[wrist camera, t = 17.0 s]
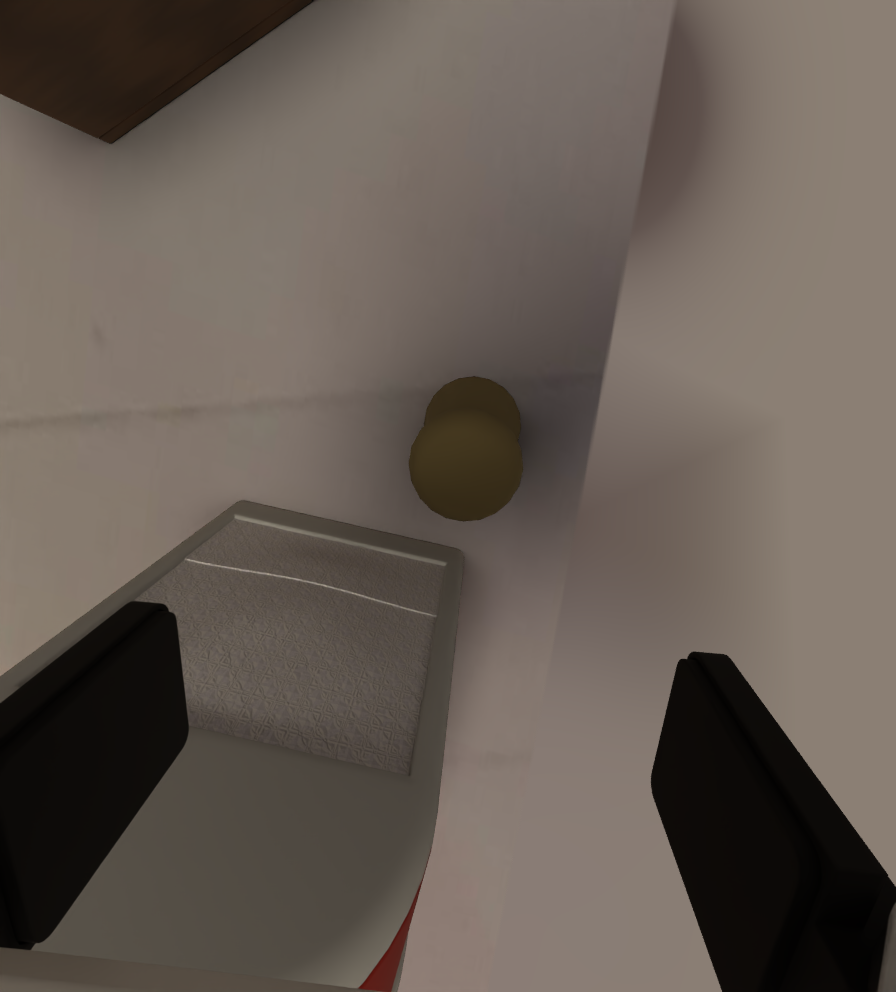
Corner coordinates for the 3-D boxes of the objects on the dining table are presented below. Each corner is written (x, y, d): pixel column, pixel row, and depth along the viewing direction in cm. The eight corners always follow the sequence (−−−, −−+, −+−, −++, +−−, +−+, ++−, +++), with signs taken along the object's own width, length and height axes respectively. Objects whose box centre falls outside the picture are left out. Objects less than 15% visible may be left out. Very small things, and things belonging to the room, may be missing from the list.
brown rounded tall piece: (507, 364, 32) (515, 387, 21) (531, 458, 33) (549, 522, 23) (411, 391, 33) (375, 426, 22) (439, 482, 34) (417, 554, 24)
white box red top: (469, 550, 36) (420, 1135, 10) (420, 750, 42) (309, 1439, 16) (231, 496, 36) (-412, 944, 10) (214, 703, 42) (-222, 1317, 16)
